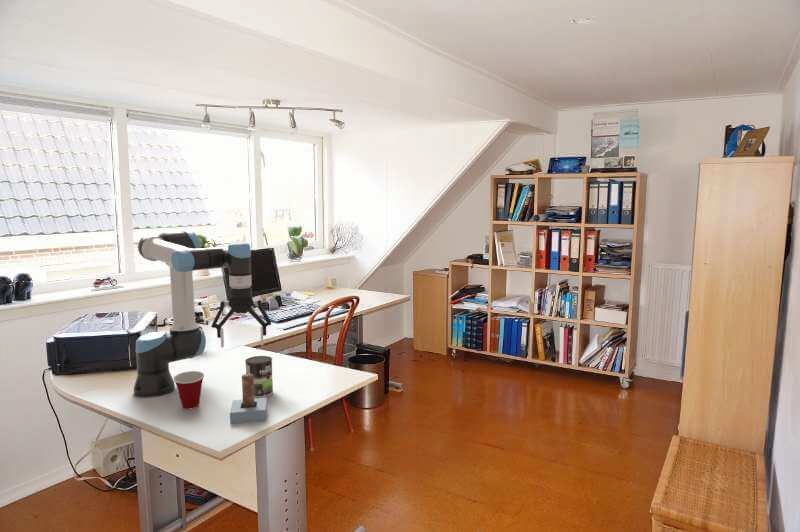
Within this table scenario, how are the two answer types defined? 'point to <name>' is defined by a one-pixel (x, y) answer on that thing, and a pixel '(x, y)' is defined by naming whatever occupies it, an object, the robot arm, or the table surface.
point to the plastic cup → (189, 388)
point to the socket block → (248, 411)
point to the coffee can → (260, 375)
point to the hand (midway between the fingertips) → (242, 345)
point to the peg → (248, 390)
